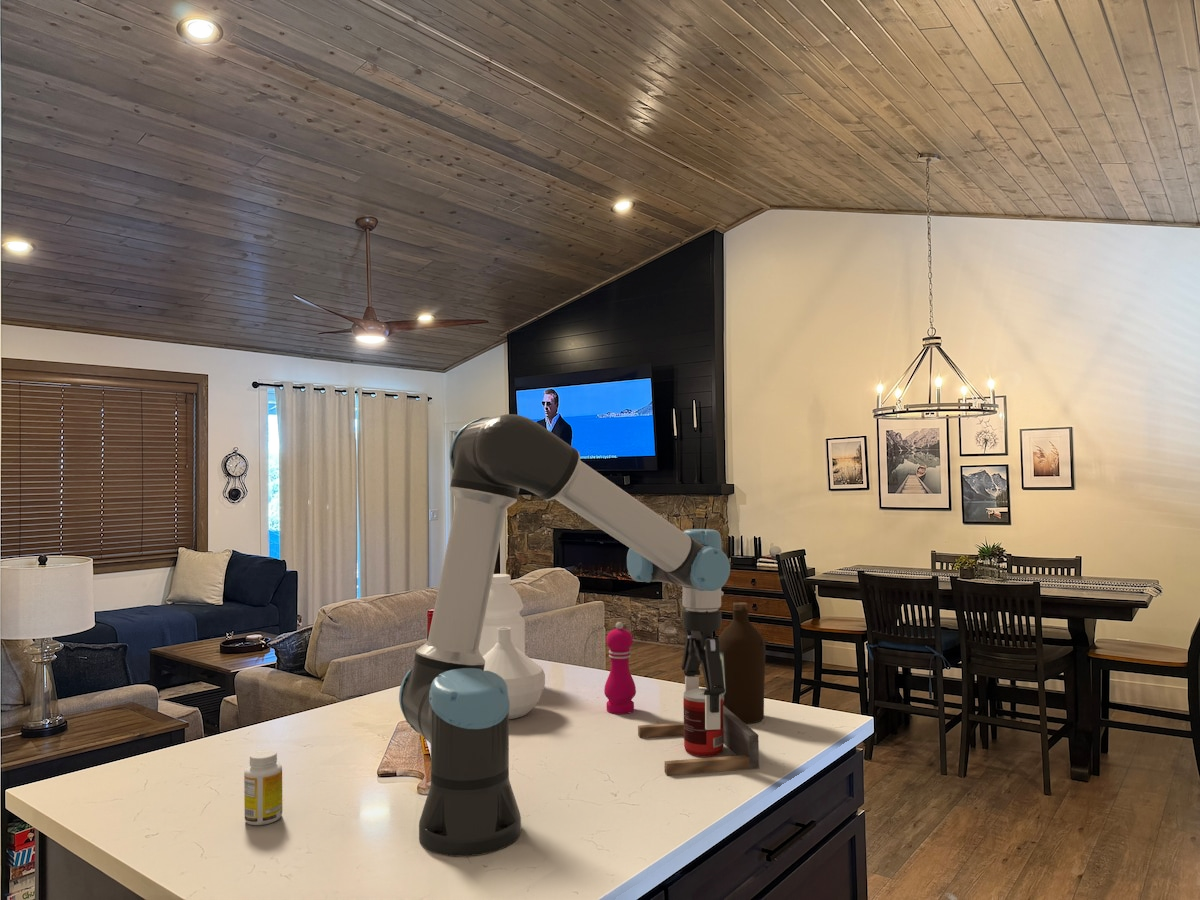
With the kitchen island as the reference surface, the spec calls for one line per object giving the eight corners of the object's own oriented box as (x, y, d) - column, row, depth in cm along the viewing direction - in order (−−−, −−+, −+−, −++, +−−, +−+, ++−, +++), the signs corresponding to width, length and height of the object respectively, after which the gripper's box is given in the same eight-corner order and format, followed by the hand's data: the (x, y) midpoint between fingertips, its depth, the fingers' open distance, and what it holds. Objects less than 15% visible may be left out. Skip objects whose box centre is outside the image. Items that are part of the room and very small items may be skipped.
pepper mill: (600, 713, 187) (599, 624, 187) (609, 704, 193) (608, 618, 194) (631, 715, 184) (630, 625, 185) (639, 707, 191) (638, 619, 192)
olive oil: (765, 711, 187) (763, 599, 188) (768, 725, 177) (766, 607, 177) (717, 709, 188) (715, 599, 189) (717, 724, 178) (716, 606, 179)
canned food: (722, 744, 165) (722, 688, 165) (724, 757, 157) (724, 699, 157) (684, 743, 166) (683, 687, 166) (684, 756, 158) (683, 698, 158)
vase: (552, 703, 195) (552, 621, 196) (535, 727, 177) (534, 637, 177) (477, 701, 198) (476, 620, 198) (452, 724, 180) (452, 635, 180)
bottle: (476, 694, 204) (475, 579, 205) (466, 680, 217) (465, 573, 218) (531, 688, 209) (530, 576, 209) (518, 676, 222) (518, 570, 223)
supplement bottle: (286, 811, 134) (286, 747, 134) (276, 825, 128) (276, 759, 129) (250, 813, 133) (250, 748, 134) (239, 827, 128) (239, 760, 128)
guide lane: (666, 775, 148) (666, 741, 148) (638, 735, 171) (637, 705, 171) (758, 768, 151) (758, 734, 151) (718, 729, 174) (718, 701, 174)
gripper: (742, 618, 150) (742, 737, 150) (701, 599, 175) (701, 700, 174) (702, 619, 149) (702, 739, 148) (667, 599, 174) (666, 702, 173)
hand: (701, 718), depth 161 cm, fingers open, 13 cm apart
